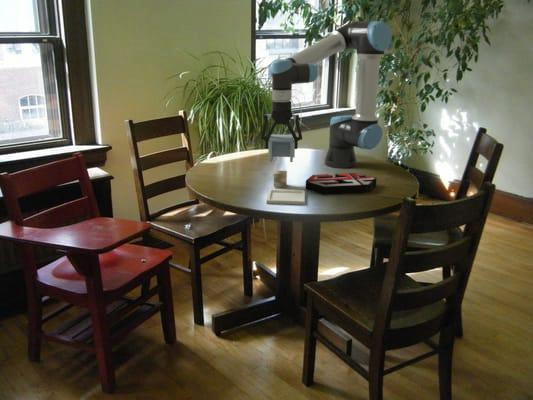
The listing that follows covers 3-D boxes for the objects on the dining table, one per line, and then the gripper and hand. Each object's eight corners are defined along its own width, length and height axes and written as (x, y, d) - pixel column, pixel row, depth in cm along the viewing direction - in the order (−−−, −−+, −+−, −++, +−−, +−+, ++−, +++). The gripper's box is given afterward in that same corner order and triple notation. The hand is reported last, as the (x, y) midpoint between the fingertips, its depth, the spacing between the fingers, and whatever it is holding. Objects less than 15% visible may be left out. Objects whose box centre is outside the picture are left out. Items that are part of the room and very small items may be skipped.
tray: (304, 193, 210) (304, 190, 209) (304, 205, 196) (304, 201, 196) (269, 192, 210) (269, 189, 210) (266, 203, 197) (266, 200, 197)
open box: (292, 156, 219) (293, 134, 216) (292, 162, 211) (292, 139, 208) (271, 156, 220) (271, 134, 217) (269, 161, 211) (269, 139, 208)
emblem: (311, 196, 207) (384, 192, 213) (312, 187, 206) (385, 184, 212) (300, 183, 224) (367, 180, 229) (300, 175, 222) (368, 172, 228)
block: (286, 184, 221) (286, 170, 219) (286, 188, 216) (286, 174, 214) (274, 184, 221) (274, 170, 219) (273, 187, 216) (273, 173, 215)
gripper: (253, 101, 205) (253, 158, 212) (309, 102, 203) (308, 159, 211) (254, 98, 212) (255, 154, 219) (309, 99, 210) (308, 154, 218)
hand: (281, 156), depth 215 cm, fingers closed on open box, 9 cm apart
